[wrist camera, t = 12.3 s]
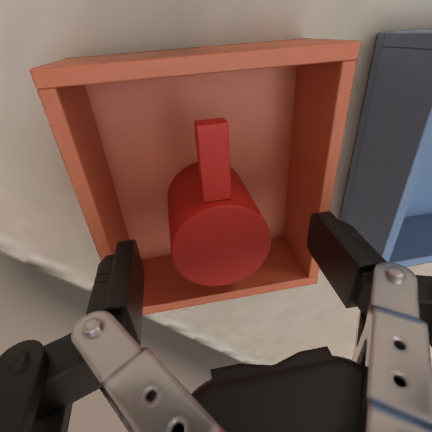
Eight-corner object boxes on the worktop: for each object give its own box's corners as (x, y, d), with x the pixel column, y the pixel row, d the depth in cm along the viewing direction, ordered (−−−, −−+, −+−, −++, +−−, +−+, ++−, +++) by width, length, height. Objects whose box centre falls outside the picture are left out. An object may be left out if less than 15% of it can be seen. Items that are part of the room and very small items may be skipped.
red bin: (66, 58, 13) (28, 69, 9) (305, 38, 14) (361, 40, 10) (129, 262, 19) (122, 318, 16) (287, 237, 21) (317, 283, 17)
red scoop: (244, 222, 19) (269, 277, 14) (173, 233, 18) (178, 294, 14) (243, 94, 14) (278, 119, 10) (150, 103, 14) (146, 134, 10)
